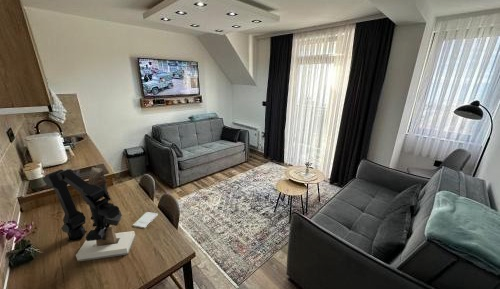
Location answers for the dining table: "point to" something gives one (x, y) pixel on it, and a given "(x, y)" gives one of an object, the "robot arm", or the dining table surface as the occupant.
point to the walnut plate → (108, 237)
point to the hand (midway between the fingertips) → (105, 237)
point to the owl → (98, 178)
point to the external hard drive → (145, 220)
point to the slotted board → (106, 247)
